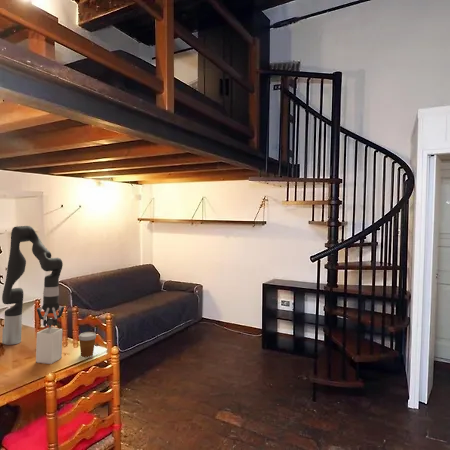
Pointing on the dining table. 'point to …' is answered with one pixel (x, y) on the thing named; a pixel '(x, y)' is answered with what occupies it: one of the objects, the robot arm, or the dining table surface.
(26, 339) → the dining table surface
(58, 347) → the grey rectangular box
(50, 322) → the plunger
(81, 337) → the disposable coffee cup
